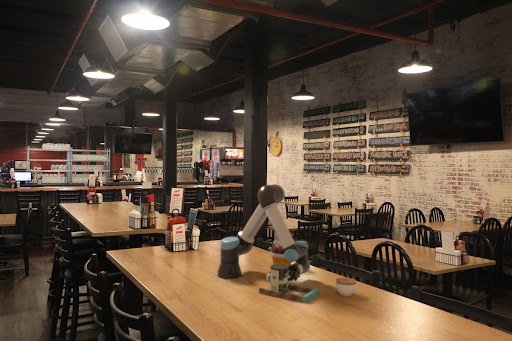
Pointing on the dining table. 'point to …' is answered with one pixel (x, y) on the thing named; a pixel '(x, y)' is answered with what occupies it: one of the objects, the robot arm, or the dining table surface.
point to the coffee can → (279, 277)
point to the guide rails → (287, 295)
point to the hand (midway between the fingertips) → (275, 279)
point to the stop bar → (310, 295)
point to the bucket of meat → (278, 254)
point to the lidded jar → (346, 286)
